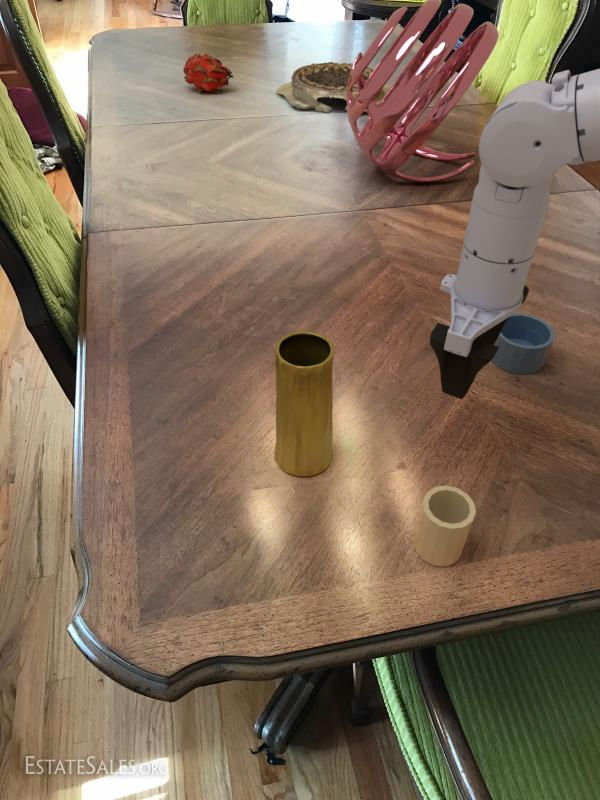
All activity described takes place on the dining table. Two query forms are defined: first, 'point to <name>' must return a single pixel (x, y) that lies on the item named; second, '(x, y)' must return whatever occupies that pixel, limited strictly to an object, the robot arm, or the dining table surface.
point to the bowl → (523, 344)
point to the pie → (322, 85)
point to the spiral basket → (416, 86)
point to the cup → (443, 525)
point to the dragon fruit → (206, 73)
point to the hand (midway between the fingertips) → (466, 370)
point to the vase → (304, 403)
